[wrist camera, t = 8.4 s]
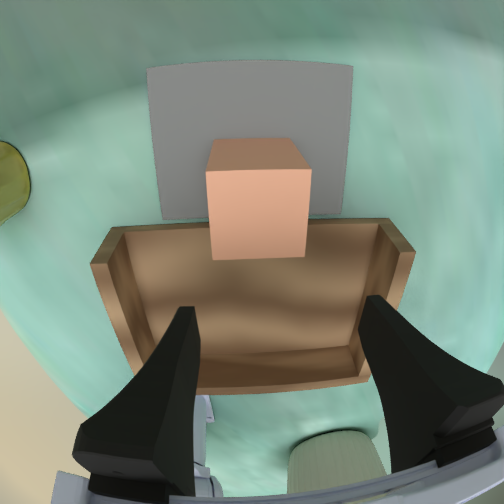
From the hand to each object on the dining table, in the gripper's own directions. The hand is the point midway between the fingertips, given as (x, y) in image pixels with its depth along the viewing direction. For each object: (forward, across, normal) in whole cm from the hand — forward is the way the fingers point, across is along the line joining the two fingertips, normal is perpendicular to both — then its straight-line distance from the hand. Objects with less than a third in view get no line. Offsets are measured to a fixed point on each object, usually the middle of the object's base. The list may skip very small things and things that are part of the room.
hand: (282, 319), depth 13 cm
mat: (+10, +1, -5) cm, 11 cm away
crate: (+10, +1, +8) cm, 12 cm away
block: (+10, +1, -3) cm, 10 cm away
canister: (+10, -11, +41) cm, 43 cm away
